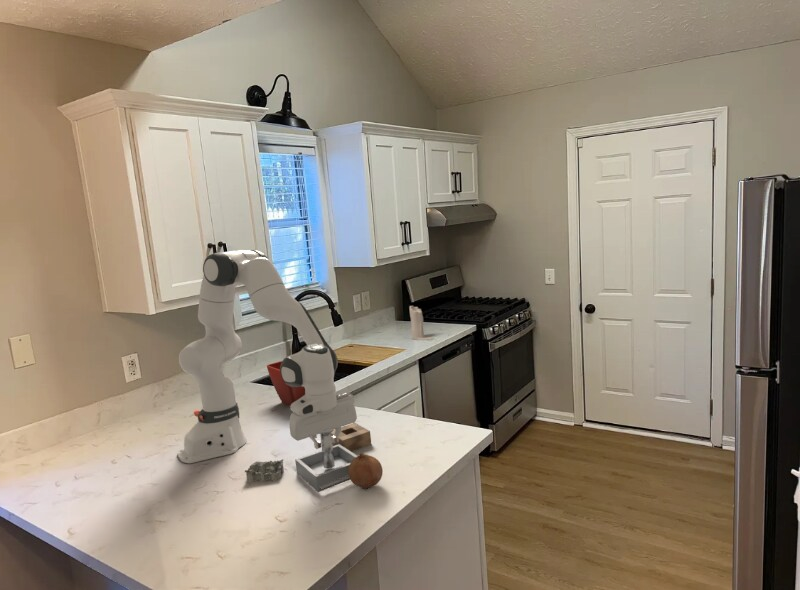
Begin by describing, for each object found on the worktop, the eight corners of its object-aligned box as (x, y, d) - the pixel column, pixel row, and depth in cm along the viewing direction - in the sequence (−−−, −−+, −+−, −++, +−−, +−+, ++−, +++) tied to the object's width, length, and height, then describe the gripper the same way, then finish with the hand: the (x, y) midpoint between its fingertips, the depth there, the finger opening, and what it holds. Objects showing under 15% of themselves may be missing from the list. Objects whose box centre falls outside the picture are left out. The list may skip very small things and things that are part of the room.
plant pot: (291, 413, 214) (286, 372, 212) (270, 403, 229) (265, 364, 227) (332, 400, 226) (328, 361, 223) (310, 391, 241) (305, 354, 238)
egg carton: (244, 484, 160) (242, 471, 159) (252, 471, 167) (250, 459, 167) (279, 481, 159) (277, 468, 158) (286, 469, 166) (284, 457, 166)
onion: (344, 486, 152) (341, 453, 151) (374, 476, 157) (371, 443, 155) (359, 500, 144) (355, 465, 142) (390, 489, 148) (386, 454, 147)
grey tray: (318, 492, 150) (316, 477, 150) (296, 473, 163) (295, 459, 162) (364, 474, 158) (363, 459, 158) (341, 457, 171) (339, 444, 170)
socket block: (344, 458, 170) (342, 440, 169) (330, 448, 178) (328, 431, 177) (371, 448, 175) (370, 431, 174) (356, 439, 184) (355, 422, 183)
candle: (430, 340, 314) (427, 306, 311) (409, 339, 321) (407, 306, 318) (436, 337, 320) (433, 304, 317) (415, 336, 327) (412, 304, 324)
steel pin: (325, 471, 157) (321, 432, 155) (318, 465, 161) (314, 427, 159) (340, 466, 159) (336, 427, 158) (332, 460, 163) (328, 422, 162)
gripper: (348, 388, 165) (352, 431, 167) (284, 406, 154) (290, 452, 156) (358, 393, 160) (362, 437, 162) (293, 412, 149) (299, 459, 151)
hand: (326, 444), depth 159 cm, fingers closed on steel pin, 4 cm apart
